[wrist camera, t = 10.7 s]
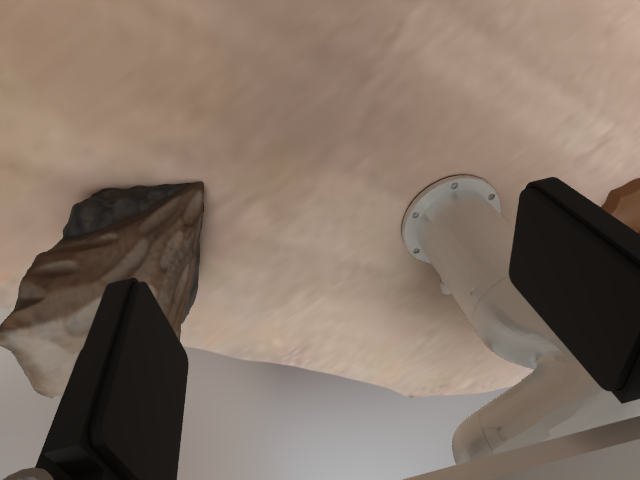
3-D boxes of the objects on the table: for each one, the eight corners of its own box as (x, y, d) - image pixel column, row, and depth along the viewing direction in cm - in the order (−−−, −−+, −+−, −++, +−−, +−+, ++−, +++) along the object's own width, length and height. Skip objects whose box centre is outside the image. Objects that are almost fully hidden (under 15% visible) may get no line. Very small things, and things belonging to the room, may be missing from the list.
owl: (198, 275, 49) (183, 430, 33) (82, 266, 46) (1, 435, 30) (209, 182, 43) (195, 319, 27) (74, 163, 39) (-36, 308, 23)
